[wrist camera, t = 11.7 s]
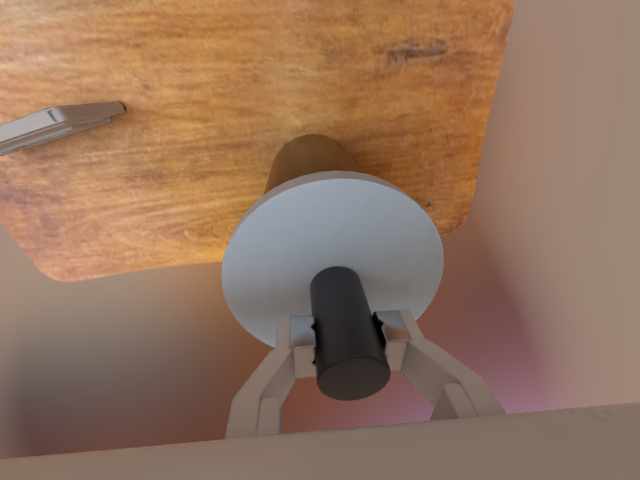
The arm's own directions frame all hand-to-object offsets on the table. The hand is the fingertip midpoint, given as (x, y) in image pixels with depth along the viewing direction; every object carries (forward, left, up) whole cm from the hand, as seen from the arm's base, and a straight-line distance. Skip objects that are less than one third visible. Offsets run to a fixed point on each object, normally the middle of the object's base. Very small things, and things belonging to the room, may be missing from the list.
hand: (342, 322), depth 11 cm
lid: (0, 0, -4) cm, 4 cm away
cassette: (+23, -6, -21) cm, 31 cm away
